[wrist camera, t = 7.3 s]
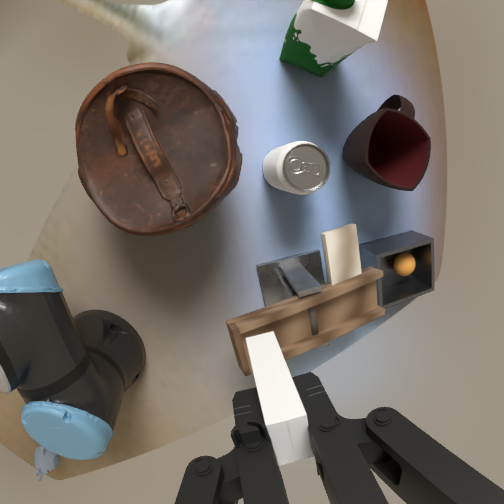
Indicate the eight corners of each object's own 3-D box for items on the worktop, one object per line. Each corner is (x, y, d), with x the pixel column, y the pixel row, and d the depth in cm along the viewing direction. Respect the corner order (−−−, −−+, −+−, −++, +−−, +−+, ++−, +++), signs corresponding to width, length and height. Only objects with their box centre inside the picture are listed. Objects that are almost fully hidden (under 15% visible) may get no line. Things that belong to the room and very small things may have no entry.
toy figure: (66, 459, 56) (54, 493, 45) (45, 451, 55) (31, 484, 43) (61, 434, 54) (45, 470, 42) (38, 425, 53) (20, 460, 41)
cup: (322, 167, 47) (355, 167, 35) (351, 90, 44) (389, 72, 33) (374, 192, 49) (415, 201, 37) (400, 120, 46) (444, 112, 35)
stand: (270, 326, 52) (284, 363, 42) (256, 264, 49) (269, 291, 39) (326, 310, 53) (352, 342, 42) (318, 249, 50) (345, 271, 39)
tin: (362, 295, 53) (379, 310, 47) (357, 245, 51) (375, 255, 45) (414, 278, 54) (434, 290, 48) (411, 230, 52) (433, 238, 45)
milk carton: (288, 19, 40) (330, -48, 21) (340, 41, 42) (403, -10, 23) (271, 62, 42) (310, 2, 23) (326, 84, 44) (391, 43, 24)
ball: (406, 281, 48) (420, 273, 49) (405, 259, 47) (419, 251, 48) (389, 276, 52) (403, 268, 53) (387, 254, 51) (402, 247, 52)
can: (265, 142, 45) (284, 133, 34) (307, 151, 46) (337, 146, 35) (258, 185, 46) (274, 190, 35) (300, 193, 48) (328, 200, 36)
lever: (238, 365, 40) (245, 376, 37) (210, 267, 36) (216, 273, 34) (373, 307, 46) (385, 313, 43) (365, 219, 42) (378, 221, 40)
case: (137, 73, 40) (100, 29, 23) (257, 126, 44) (284, 105, 27) (86, 180, 43) (26, 192, 26) (202, 234, 48) (198, 274, 30)
